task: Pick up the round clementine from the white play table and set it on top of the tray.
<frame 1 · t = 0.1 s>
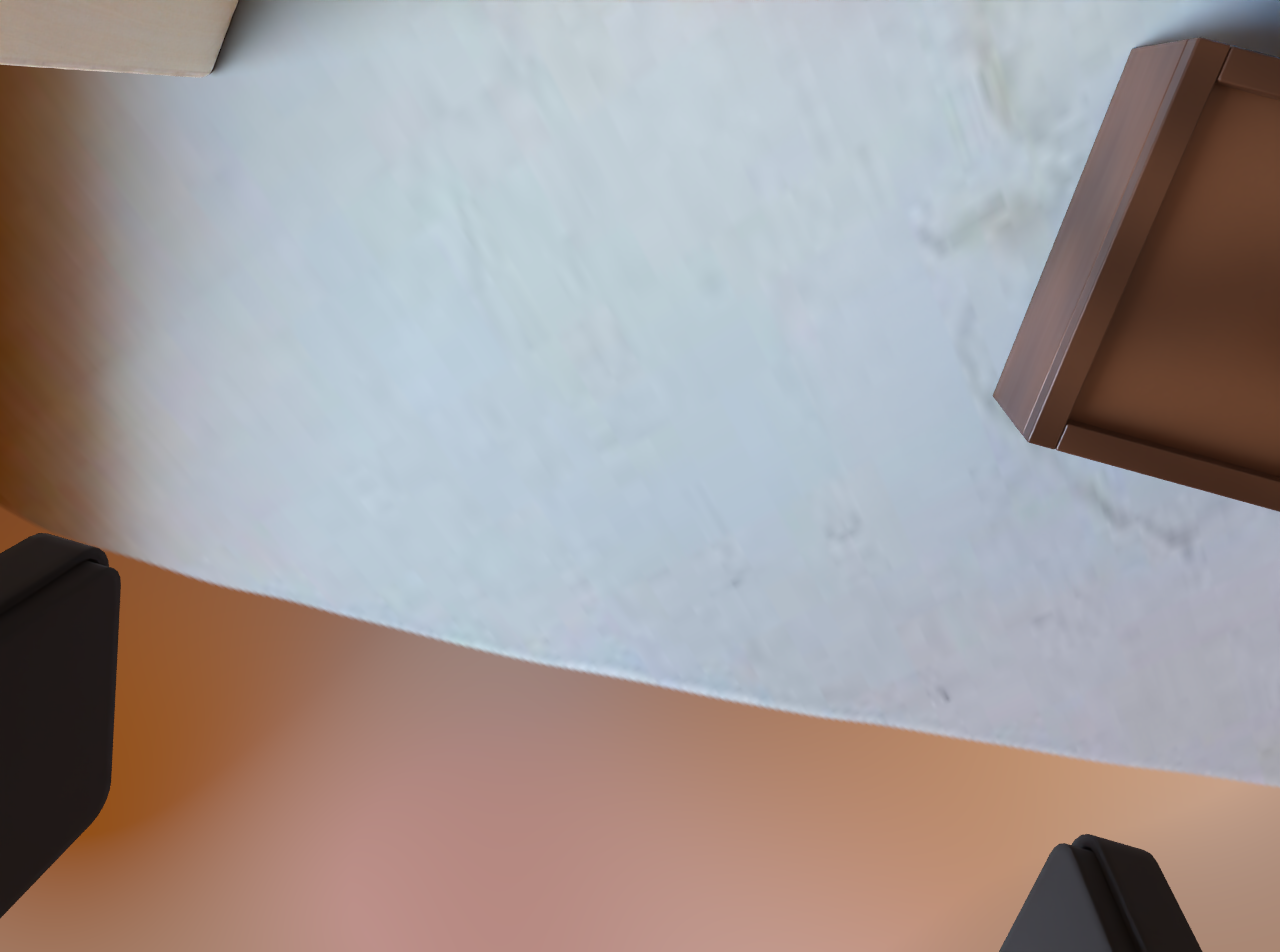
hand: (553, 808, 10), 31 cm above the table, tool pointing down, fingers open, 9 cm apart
tray: (1229, 279, 36), on the table
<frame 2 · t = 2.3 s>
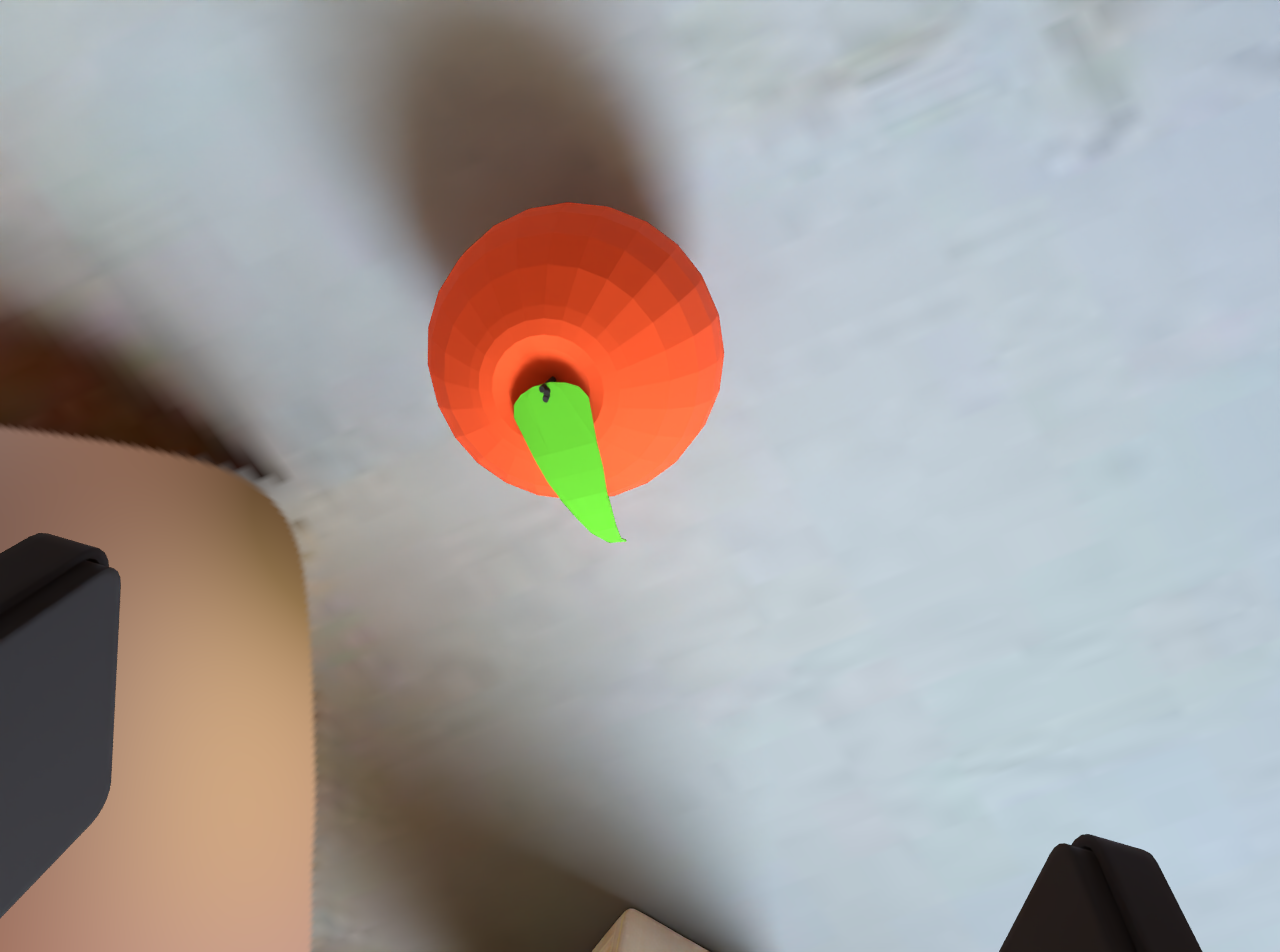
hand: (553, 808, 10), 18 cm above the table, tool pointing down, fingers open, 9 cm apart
clementine: (607, 341, 27), on the table
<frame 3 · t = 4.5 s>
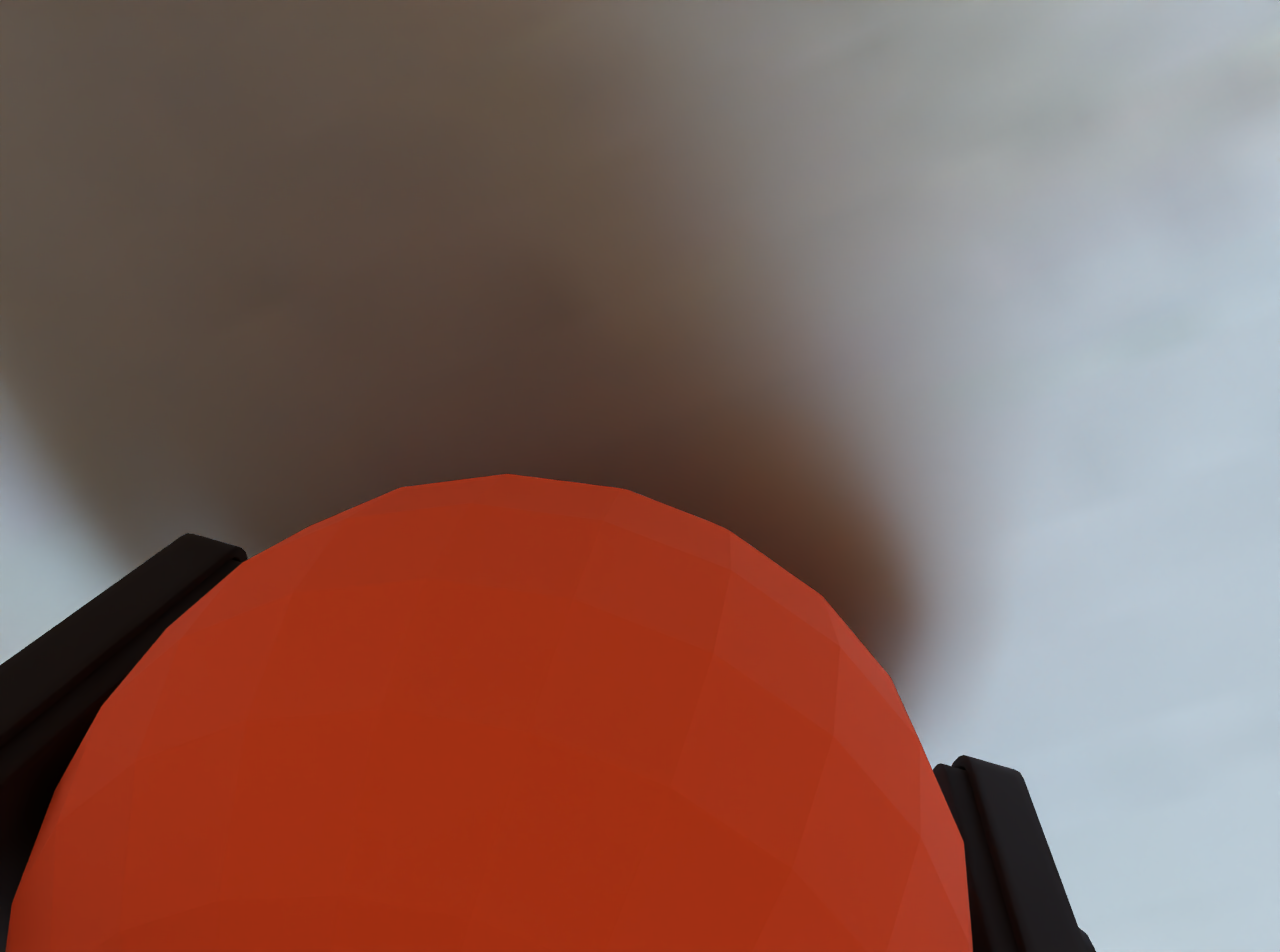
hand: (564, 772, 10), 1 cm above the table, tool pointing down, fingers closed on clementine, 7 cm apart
clementine: (613, 704, 11), on the table, touching gripper
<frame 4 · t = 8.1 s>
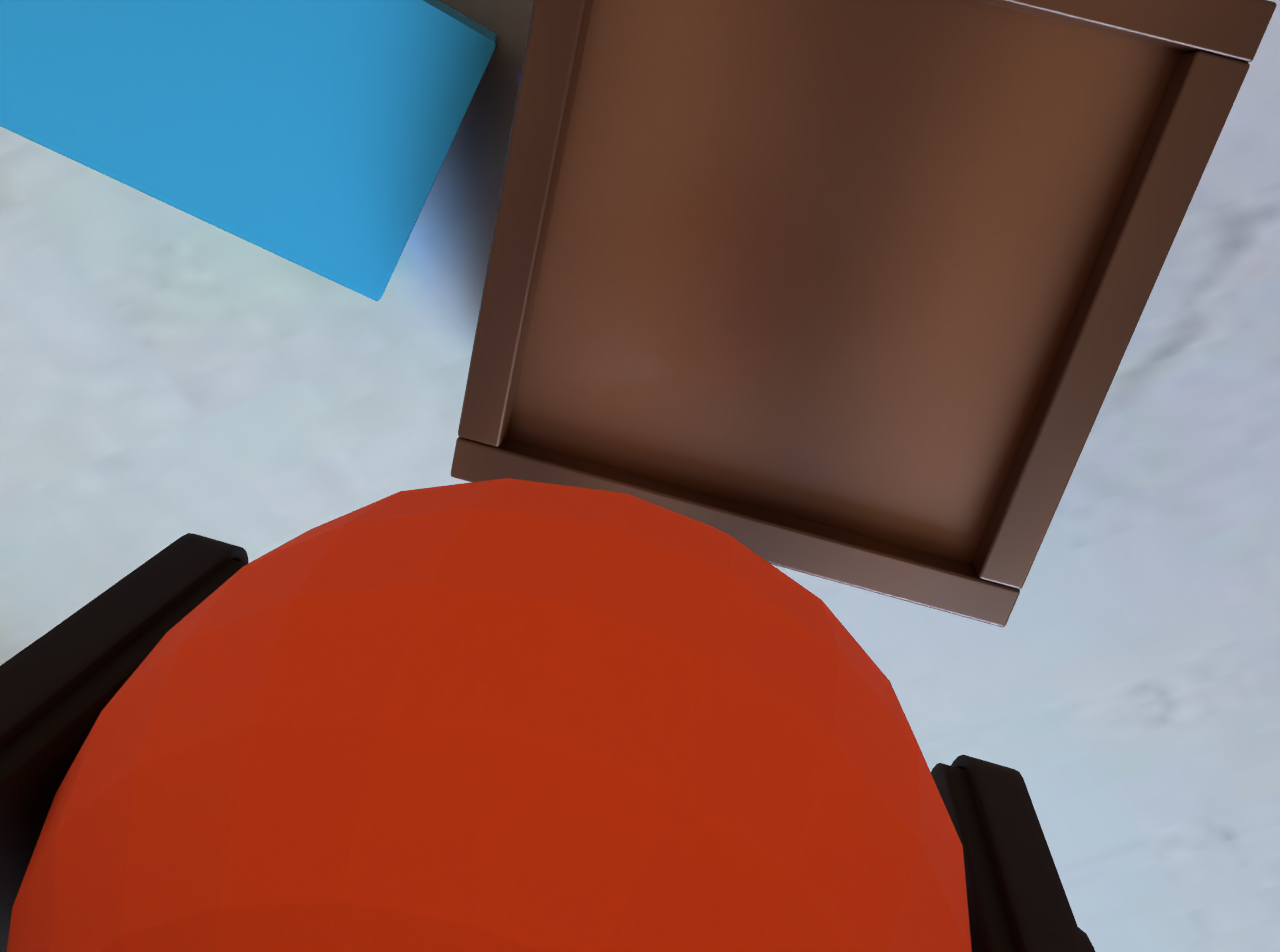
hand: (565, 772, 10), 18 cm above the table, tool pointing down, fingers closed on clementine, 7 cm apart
tray: (801, 237, 25), on the table
clementine: (613, 707, 11), point 16 cm above the table, touching gripper
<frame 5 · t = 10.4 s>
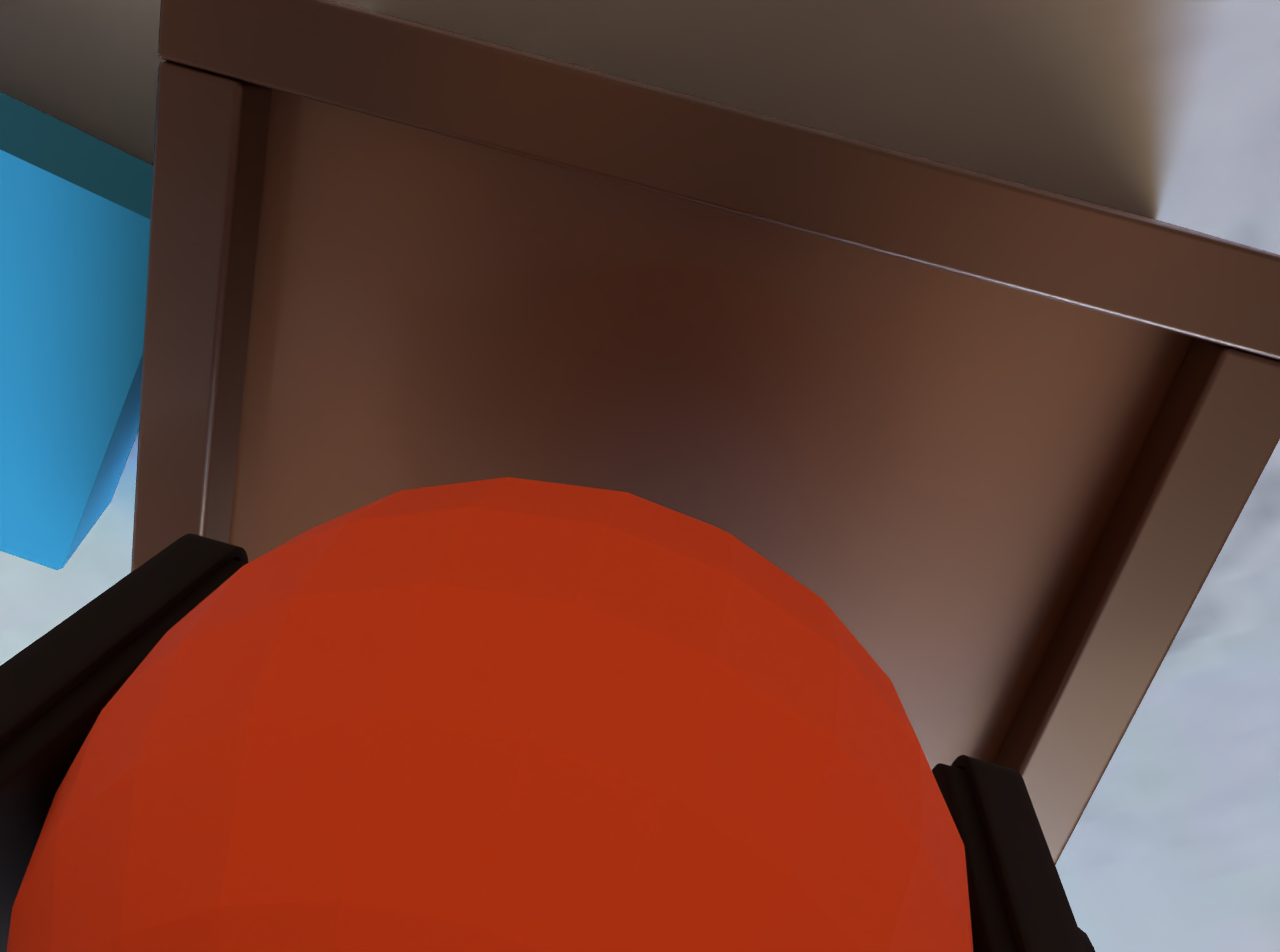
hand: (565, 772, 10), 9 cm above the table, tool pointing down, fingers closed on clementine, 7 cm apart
tray: (659, 480, 18), on the table
clementine: (613, 707, 11), point 7 cm above the table, touching gripper
when the fingers open (6 cm above the table, at t = 11.7 s): clementine stays where it is, resting on tray.
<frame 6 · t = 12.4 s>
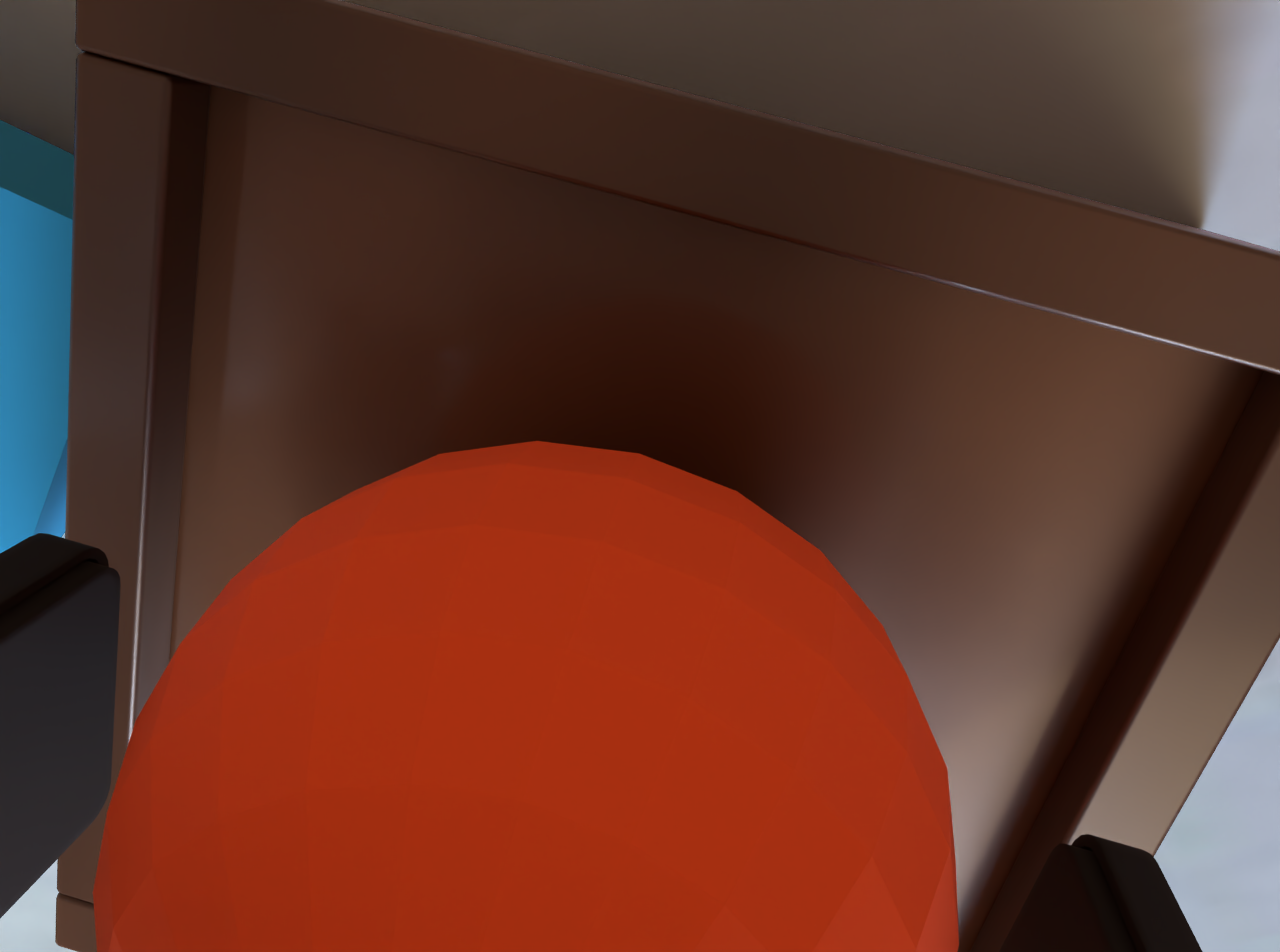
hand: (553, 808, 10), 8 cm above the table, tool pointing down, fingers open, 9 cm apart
tray: (655, 510, 17), on the table
clementine: (626, 666, 12), point 5 cm above the table, touching tray
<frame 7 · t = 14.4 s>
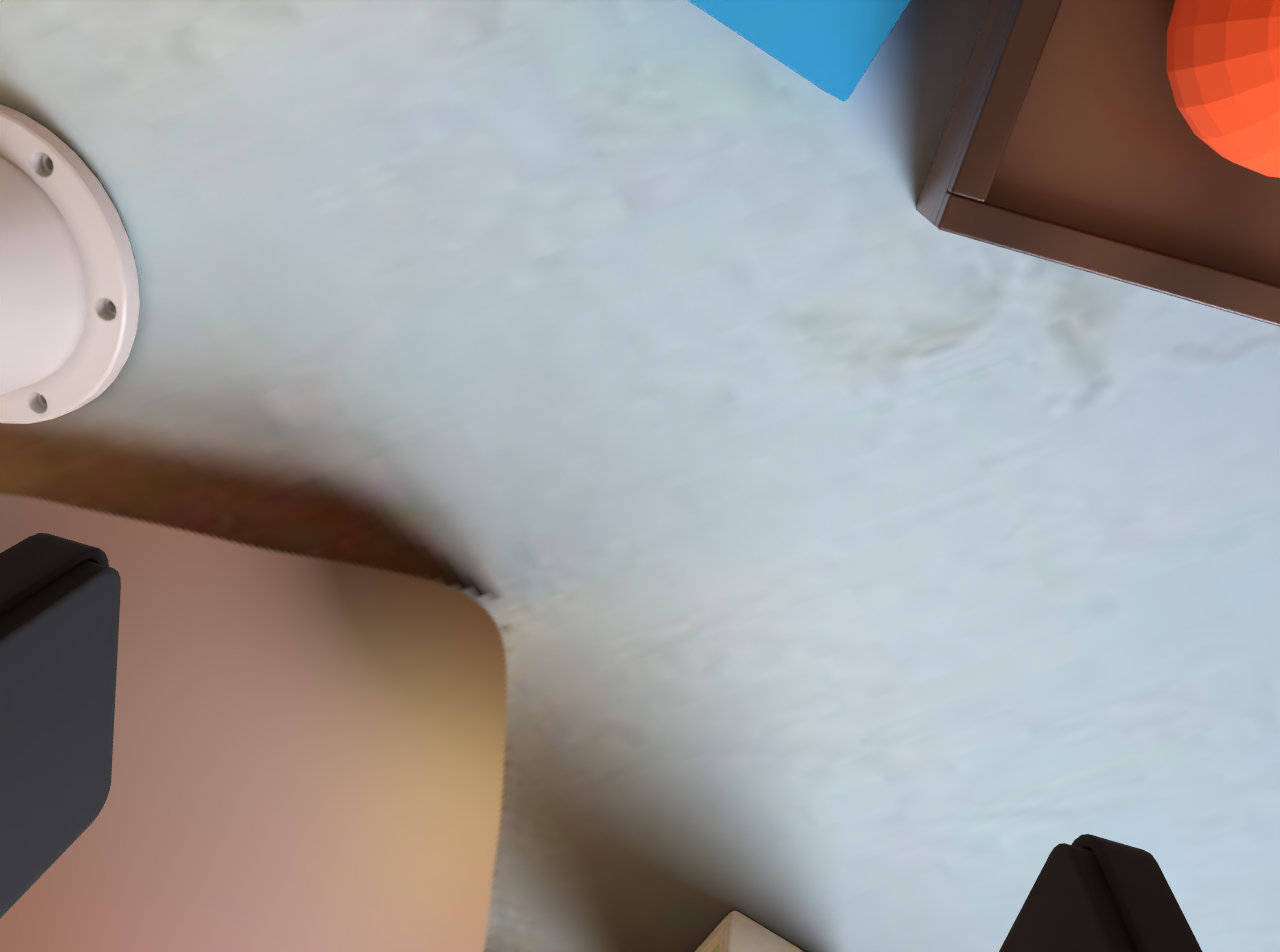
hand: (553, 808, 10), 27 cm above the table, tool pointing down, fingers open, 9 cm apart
tray: (1194, 58, 30), on the table
clementine: (1269, 54, 26), point 5 cm above the table, touching tray
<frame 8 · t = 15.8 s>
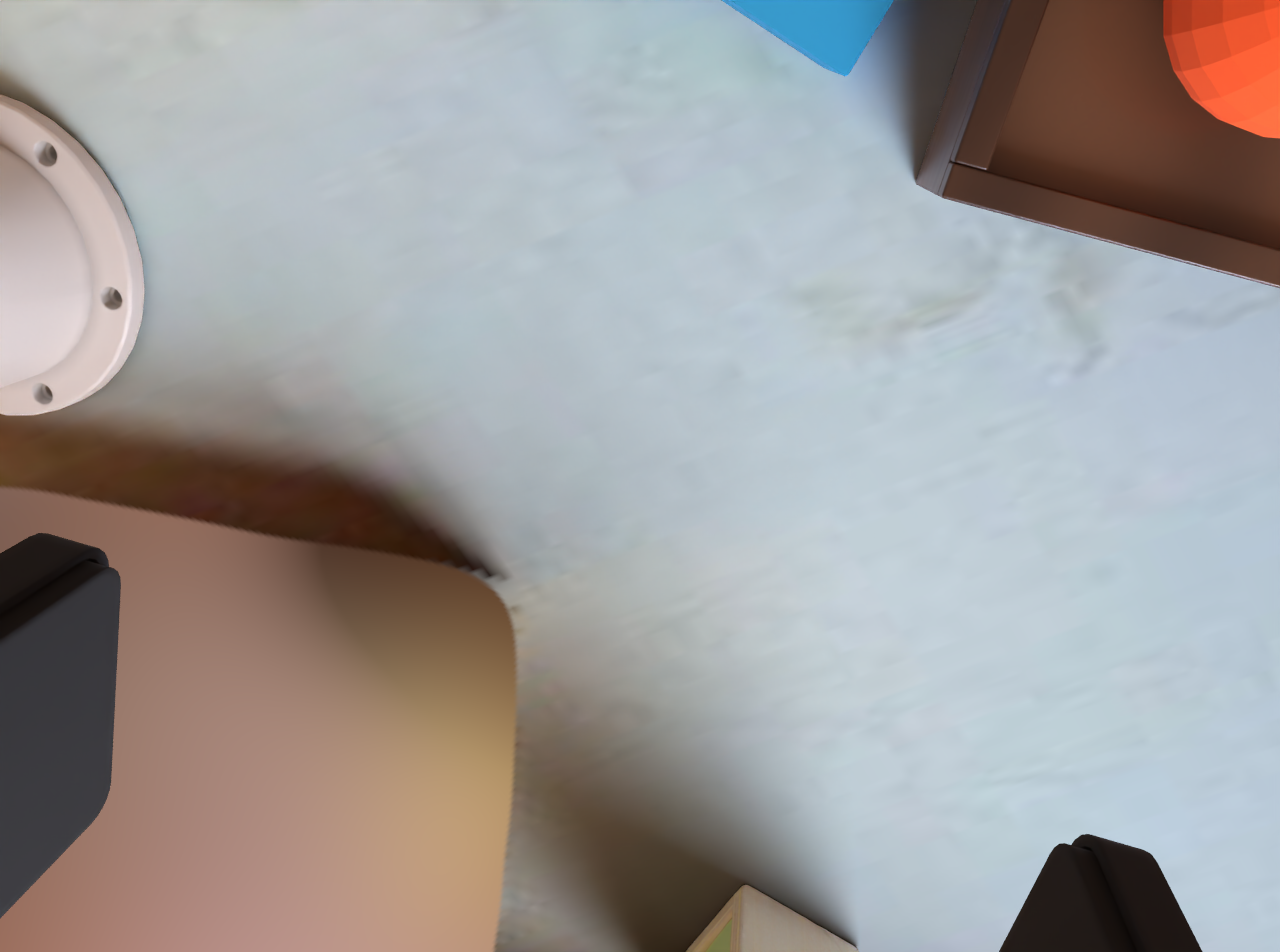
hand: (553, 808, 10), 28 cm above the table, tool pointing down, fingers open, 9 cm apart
tray: (1184, 30, 31), on the table
clementine: (1260, 21, 27), point 5 cm above the table, touching tray
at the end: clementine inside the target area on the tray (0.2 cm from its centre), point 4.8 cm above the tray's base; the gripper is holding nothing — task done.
